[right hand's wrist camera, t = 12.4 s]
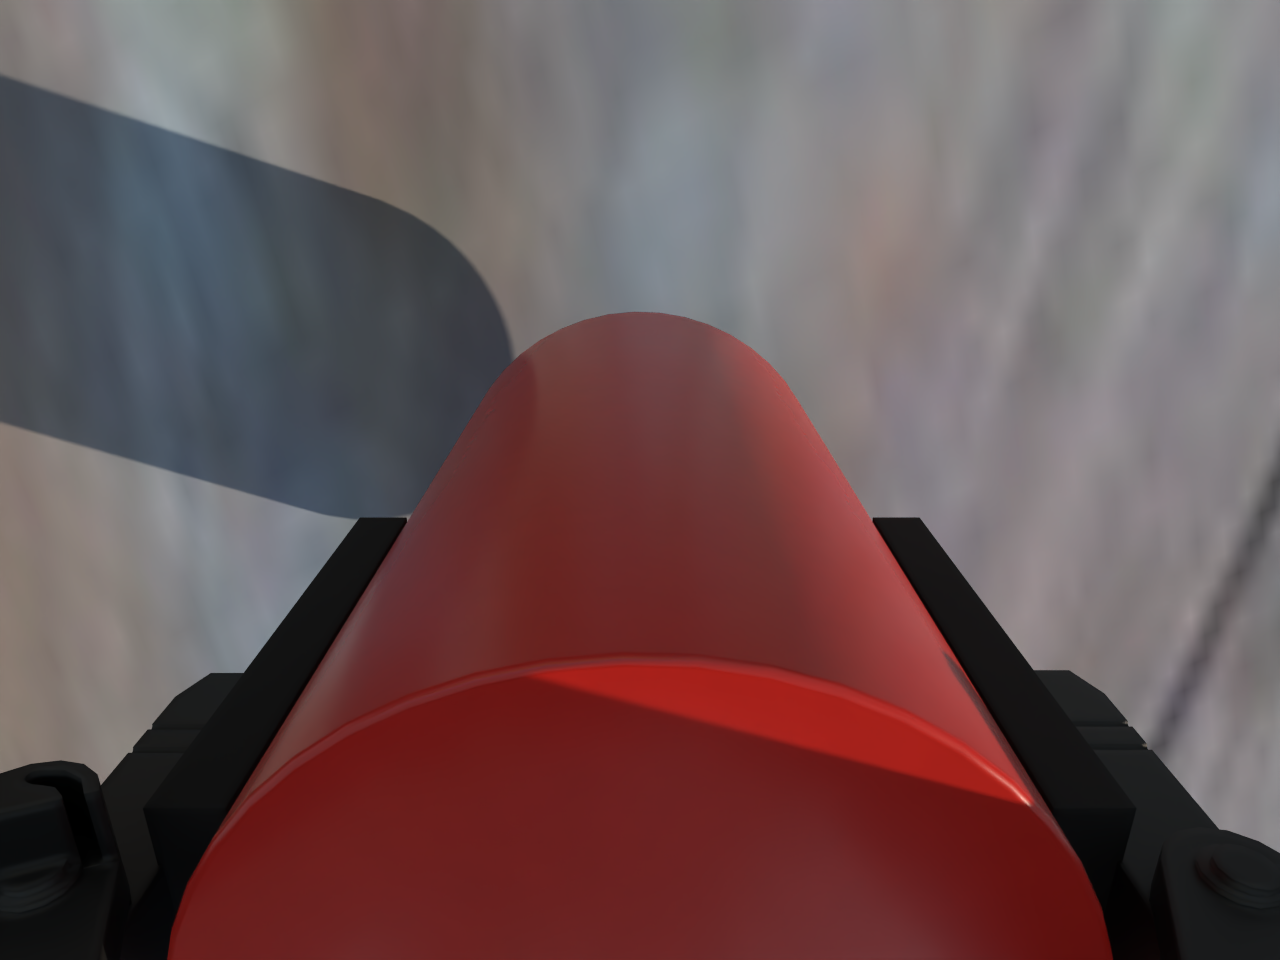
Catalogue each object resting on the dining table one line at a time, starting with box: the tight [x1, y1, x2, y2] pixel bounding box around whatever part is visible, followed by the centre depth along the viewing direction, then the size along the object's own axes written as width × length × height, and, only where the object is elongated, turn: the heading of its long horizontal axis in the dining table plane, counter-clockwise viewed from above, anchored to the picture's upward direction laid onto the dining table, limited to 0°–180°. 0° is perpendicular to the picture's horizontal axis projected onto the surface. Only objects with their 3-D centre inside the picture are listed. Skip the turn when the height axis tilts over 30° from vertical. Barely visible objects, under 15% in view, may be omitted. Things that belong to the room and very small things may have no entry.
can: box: [167, 312, 1113, 960], centre depth 13 cm, size 8×8×12 cm
